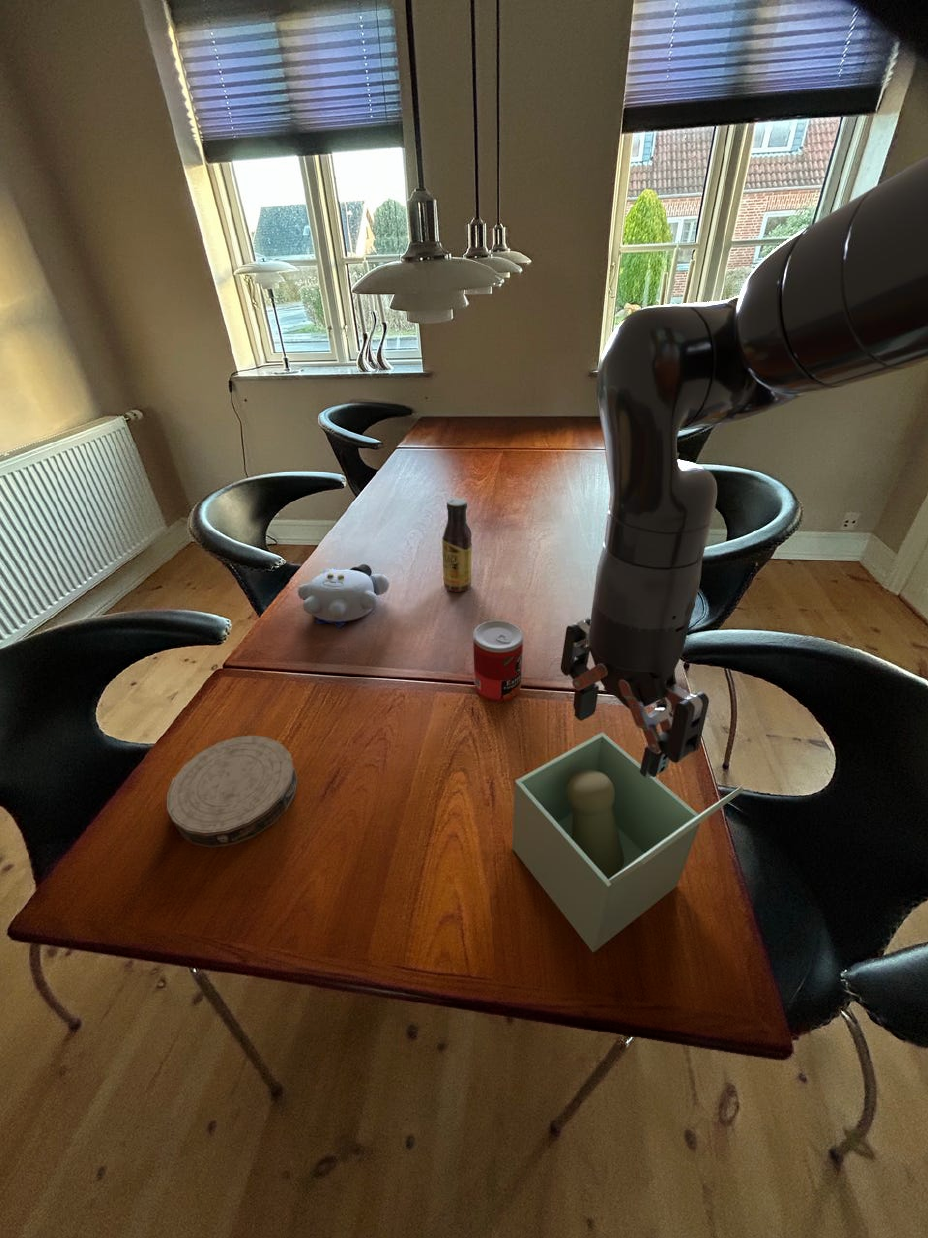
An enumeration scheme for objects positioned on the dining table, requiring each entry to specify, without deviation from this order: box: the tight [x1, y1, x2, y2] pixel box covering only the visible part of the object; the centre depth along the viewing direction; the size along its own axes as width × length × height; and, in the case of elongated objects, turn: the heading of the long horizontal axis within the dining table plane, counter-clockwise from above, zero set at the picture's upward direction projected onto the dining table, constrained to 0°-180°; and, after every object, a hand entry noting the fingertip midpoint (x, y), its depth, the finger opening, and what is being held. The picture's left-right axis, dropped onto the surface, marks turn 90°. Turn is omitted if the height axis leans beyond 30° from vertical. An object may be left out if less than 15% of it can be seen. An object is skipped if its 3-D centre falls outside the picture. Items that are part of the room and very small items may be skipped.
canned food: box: [472, 620, 524, 703], centre depth 86 cm, size 8×8×11 cm
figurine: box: [297, 563, 390, 628], centre depth 109 cm, size 17×8×20 cm
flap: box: [609, 786, 745, 885], centre depth 47 cm, size 7×13×1 cm
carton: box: [511, 732, 701, 953], centre depth 59 cm, size 14×13×12 cm
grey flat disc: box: [166, 735, 298, 848], centre depth 71 cm, size 16×16×3 cm
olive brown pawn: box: [567, 770, 624, 878], centre depth 60 cm, size 6×6×11 cm
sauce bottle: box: [441, 497, 473, 593], centre depth 111 cm, size 6×6×20 cm
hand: (615, 742), depth 51 cm, fingers open, 8 cm apart
